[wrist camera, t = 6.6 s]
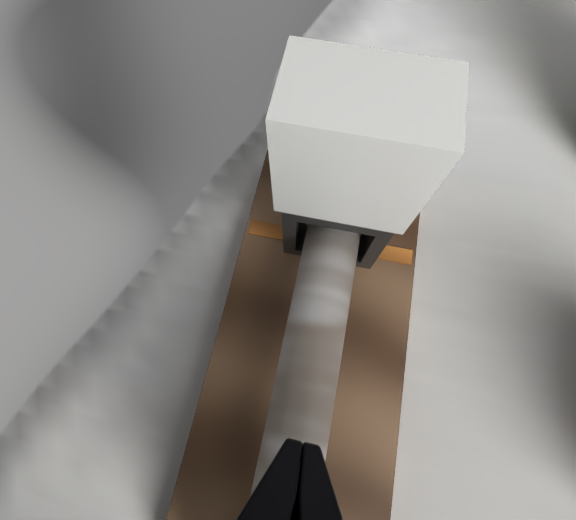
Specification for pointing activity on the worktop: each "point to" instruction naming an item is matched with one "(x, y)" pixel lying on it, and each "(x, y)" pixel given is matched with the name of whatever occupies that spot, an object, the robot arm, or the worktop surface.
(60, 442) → the worktop surface
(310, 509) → the robot arm
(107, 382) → the worktop surface
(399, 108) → the white slider block
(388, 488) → the pipe stand
